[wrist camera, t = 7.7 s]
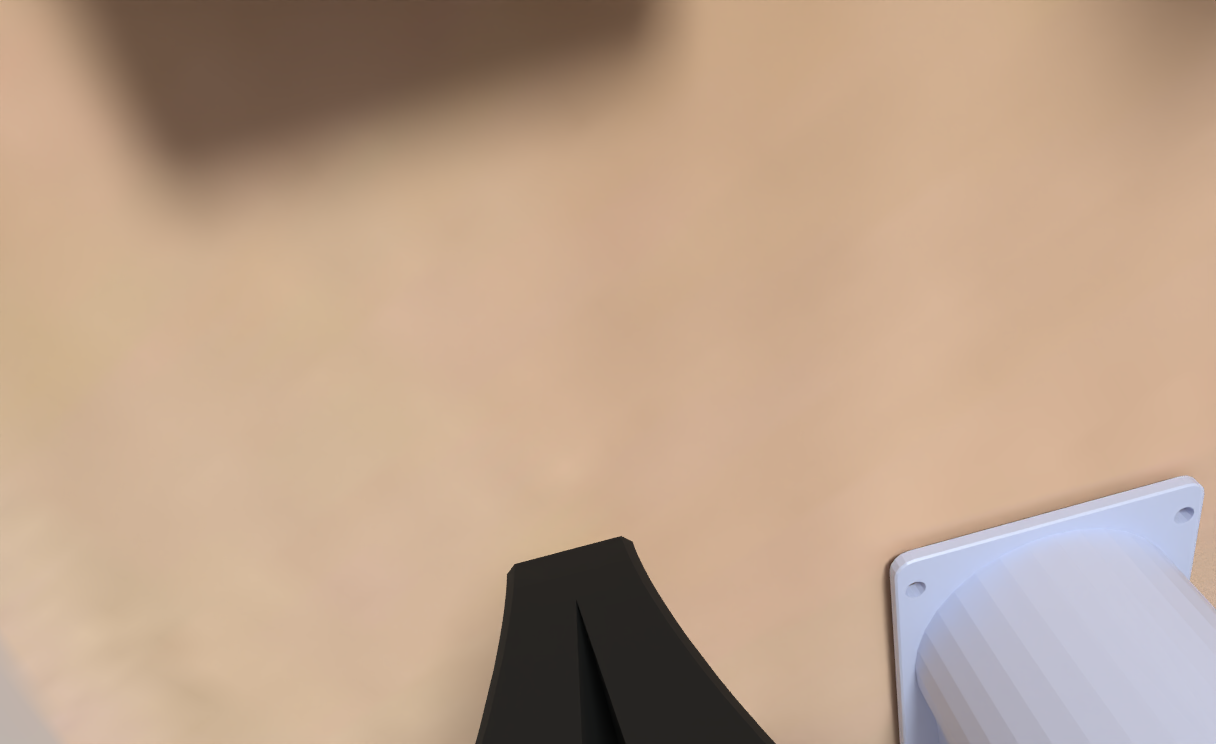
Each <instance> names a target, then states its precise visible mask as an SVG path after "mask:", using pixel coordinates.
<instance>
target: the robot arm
mask: <svg viewBox="0 0 1216 744" xmlns="http://www.w3.org/2000/svg"><path fill="white" fill-rule="evenodd" d="M1203 499H1204V488H1203V487H1202V486H1201V485H1200V484H1199V483H1198V482H1197V481H1196V480H1195V479H1194V478H1193V477H1190V476H1180V477H1176V478H1172V479H1168V480H1165V481H1161V482H1157V483H1154V484H1150V485H1146V486H1143V487H1139V488H1136V489H1132V490H1128V491H1125V492H1121V493H1117V494H1114V495H1110V496H1106V497H1103V498H1099V499H1096V500H1092V501H1088V502H1085V503H1081V504H1077V505H1074V506H1070V507H1066V508H1063V509H1059V510H1056V511H1052V512H1048V513H1045V514H1041V515H1037V516H1034V517H1030V518H1026V519H1023V520H1019V521H1016V522H1012V523H1008V524H1005V525H1001V526H997V527H994V528H990V529H986V530H983V531H979V532H976V533H972V534H968V535H965V536H961V537H957V538H954V539H950V540H946V541H943V542H939V543H936V544H932V545H928V546H925V547H921V548H917V549H914V550H910V551H907V552H905V553H902V554H900V555H899V556H898V557H897V558H895V560H894V561H893V563H892V564H891V567H890V585H891V601H892V618H893V635H894V652H895V668H896V685H897V702H898V718H899V735H900V744H1216V609H1215V608H1214V607H1213V606H1212V605H1211V603H1210V602H1209V601H1208V600H1207V599H1206V598H1205V597H1204V596H1203V595H1202V594H1201V593H1200V592H1199V590H1198V589H1197V588H1196V587H1195V586H1194V585H1193V584H1192V583H1191V582H1190V576H1191V570H1192V564H1193V558H1194V552H1195V546H1196V540H1197V534H1198V528H1199V522H1200V517H1201V511H1202V505H1203ZM914 582H915V583H914ZM912 583H914V584H912ZM910 584H912V585H910ZM909 585H910V586H909ZM475 744H775V743H774V741H773V740H772V739H771V738H770V737H769V736H768V735H767V734H766V733H765V732H764V730H763V729H762V728H761V727H760V726H759V725H758V724H757V722H756V721H755V720H754V719H753V718H752V717H751V716H750V714H749V713H748V712H747V711H746V710H745V709H744V708H743V706H742V705H741V704H740V703H739V702H738V701H737V700H736V698H735V697H734V696H733V695H732V693H731V692H730V691H729V690H728V689H727V687H726V686H725V685H724V684H723V683H722V681H721V680H720V679H719V678H718V676H717V675H716V674H715V672H714V671H713V670H712V668H711V667H710V666H709V665H708V663H707V662H706V661H705V659H704V658H703V657H702V655H701V654H700V653H699V651H698V650H697V649H696V648H695V646H694V645H693V644H692V642H691V641H690V640H689V638H688V637H687V636H686V634H685V633H684V631H683V630H682V628H681V627H680V626H679V624H678V623H677V621H676V620H675V618H674V617H673V615H672V614H671V612H670V611H669V609H668V608H667V606H666V605H665V603H664V602H663V600H662V598H661V597H660V595H659V594H658V592H657V590H656V589H655V587H654V585H653V584H652V582H651V580H650V578H649V577H648V575H647V573H646V571H645V569H644V567H643V565H642V563H641V561H640V559H639V557H638V555H637V552H636V550H635V547H634V545H633V542H632V541H630V540H628V539H626V538H624V537H622V536H620V537H616V538H612V539H608V540H605V541H601V542H597V543H593V544H589V545H586V546H582V547H578V548H574V549H570V550H567V551H563V552H559V553H555V554H552V555H548V556H544V557H540V558H536V559H533V560H529V561H525V562H521V563H517V564H514V566H513V567H512V568H511V570H510V571H509V572H508V574H507V588H506V599H505V608H504V616H503V622H502V629H501V635H500V640H499V646H498V651H497V656H496V661H495V666H494V671H493V675H492V679H491V683H490V688H489V692H488V696H487V700H486V704H485V708H484V713H483V717H482V721H481V725H480V729H479V733H478V736H477V740H476V743H475Z"/></svg>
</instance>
